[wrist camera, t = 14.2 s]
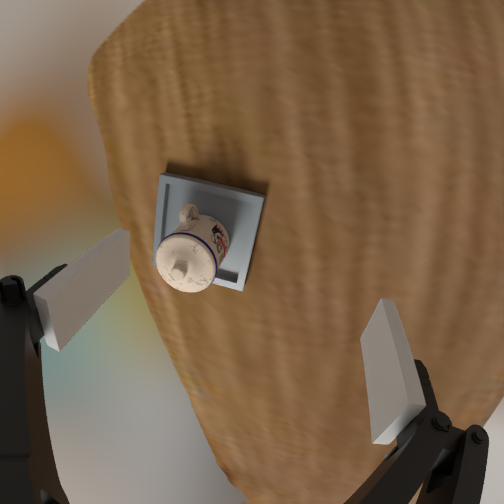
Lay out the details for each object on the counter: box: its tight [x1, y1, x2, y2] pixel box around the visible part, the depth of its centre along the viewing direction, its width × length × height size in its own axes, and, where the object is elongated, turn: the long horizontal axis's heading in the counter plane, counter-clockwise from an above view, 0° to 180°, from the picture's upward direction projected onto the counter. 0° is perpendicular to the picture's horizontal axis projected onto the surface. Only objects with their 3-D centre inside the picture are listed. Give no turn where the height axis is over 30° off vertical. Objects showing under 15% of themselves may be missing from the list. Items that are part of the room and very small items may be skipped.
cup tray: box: [153, 172, 266, 291], centre depth 49 cm, size 16×16×2 cm
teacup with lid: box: [156, 203, 230, 292], centre depth 44 cm, size 12×9×12 cm
